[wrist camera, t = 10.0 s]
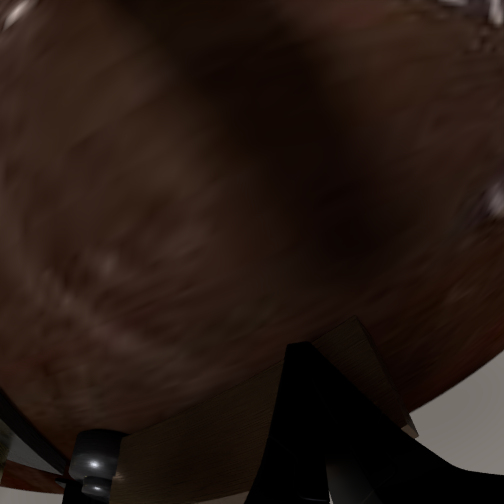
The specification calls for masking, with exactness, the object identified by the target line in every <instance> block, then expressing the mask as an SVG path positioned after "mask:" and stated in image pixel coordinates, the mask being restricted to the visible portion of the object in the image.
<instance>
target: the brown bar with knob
mask: <svg viewBox="0 0 504 504" xmlns="http://www.w3.org/2000/svg"><path fill="white" fill-rule="evenodd" d="M311 344H312V345H313V346H314V347H315V348H316V349H317V350H318V351H319V352H320V353H321V354H322V355H323V356H324V357H326V358H327V359H328V360H329V361H330V362H331V363H332V364H333V365H334V366H335V367H336V368H337V369H338V370H339V371H340V372H341V373H342V374H343V375H344V376H345V377H346V378H347V379H348V380H349V381H350V382H351V383H353V384H354V385H355V386H356V387H357V388H358V389H359V390H360V391H361V392H362V393H363V394H364V395H365V396H366V397H367V398H368V399H369V400H370V401H371V402H372V403H374V404H375V405H376V406H377V407H378V408H379V409H380V410H381V411H382V414H383V413H384V414H385V415H386V416H387V417H389V418H390V419H391V420H392V421H393V422H394V423H395V424H396V425H397V426H399V427H400V428H401V429H402V430H403V431H404V432H406V433H407V434H408V435H410V436H411V437H412V438H414V439H415V438H417V437H418V436H419V435H418V433H417V430H416V428H415V426H414V424H413V421H412V419H411V417H410V415H409V413H408V411H407V408H406V406H405V404H404V402H403V400H402V398H401V396H400V394H399V392H398V390H397V387H396V385H395V383H394V381H393V379H392V377H391V375H390V373H389V371H388V369H387V367H386V365H385V363H384V361H383V359H382V357H381V355H380V353H379V351H378V349H377V347H376V345H375V344H374V342H373V340H372V338H371V336H370V335H369V333H368V332H367V331H366V329H365V328H364V327H363V325H362V324H361V323H360V321H359V320H358V319H357V317H356V316H355V315H354V316H353V317H351V318H350V319H348V320H347V321H345V322H344V323H342V324H341V325H339V326H338V327H336V328H334V329H333V330H331V331H330V332H328V333H327V334H325V335H323V336H322V337H320V338H319V339H317V340H315V341H314V342H312V343H311ZM283 363H284V360H282V361H280V362H279V363H277V364H275V365H273V366H272V367H270V368H268V369H266V370H265V371H263V372H261V373H259V374H257V375H256V376H254V377H252V378H250V379H248V380H246V381H244V382H243V383H241V384H239V385H237V386H235V387H233V388H231V389H229V390H227V391H225V392H223V393H221V394H219V395H217V396H215V397H213V398H211V399H209V400H207V401H205V402H203V403H201V404H199V405H197V406H195V407H193V408H191V409H189V410H186V411H184V412H182V413H180V414H178V415H175V416H173V417H171V418H169V419H167V420H164V421H162V422H160V423H157V424H155V425H153V426H150V427H148V428H146V429H143V430H141V431H138V432H136V433H133V434H131V435H128V436H126V437H121V436H118V435H115V434H111V433H107V432H102V431H92V430H89V431H82V432H80V433H79V434H78V435H77V438H76V442H75V446H74V450H73V455H72V459H71V463H70V468H69V475H70V476H71V477H72V478H73V479H75V480H76V481H78V482H79V483H81V484H83V486H82V493H83V494H85V495H86V496H88V497H90V498H92V499H95V500H97V501H100V502H104V503H107V504H244V502H245V500H246V498H247V495H248V493H249V491H250V489H251V486H252V484H253V482H254V479H255V477H256V474H257V472H258V469H259V467H260V464H261V460H262V457H263V453H264V450H265V445H266V441H267V438H268V433H269V429H270V424H271V420H272V415H273V411H274V406H275V401H276V397H277V392H278V387H279V382H280V378H281V373H282V368H283Z"/></svg>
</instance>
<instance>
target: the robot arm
mask: <svg viewBox="0 0 504 504" xmlns="http://www.w3.org/2000/svg"><path fill="white" fill-rule="evenodd" d="M55 482H56V483H58V484H59V485H60V486H62V487H63V488H65V490H64V495H63V501H62V504H107V503H104V502H100V501H97V500H95V499H92V498H90V497H88V496H86V495H85V494H83V493H82V486H83V484H80V483H75V482H71V481H66V480H62V479H58V478H56V480H55ZM329 492H330V495H331V498H332V501H333V504H504V475H497V474H488V473H480V472H474V471H468V470H464V469H461V468H458V467H456V466H453V465H452V464H450V463H448V462H447V461H445V460H444V459H442V458H440V457H439V456H438V455H436V454H435V453H433V452H432V451H431V450H429V449H428V448H426V447H425V446H423V445H422V444H420V443H419V442H418V441H416V440H415V439H414V438H412V437H411V436H410V435H408V434H407V433H406V432H404V431H403V430H402V429H401V428H400V427H399V426H397V425H396V424H395V423H394V422H393V421H392V420H391V419H390V418H389V417H387V416H386V415H385V414H384V413H383V414H382V411H381V410H380V409H379V408H378V407H377V406H376V405H375V404H374V403H372V402H371V401H370V400H369V399H368V398H367V397H366V396H365V395H364V394H363V393H362V392H361V391H360V390H359V389H358V388H357V387H356V386H355V385H354V384H353V383H351V382H350V381H349V380H348V379H347V378H346V377H345V376H344V375H343V374H342V373H341V372H340V371H339V370H338V369H337V368H336V367H335V366H334V365H333V364H332V363H331V362H330V361H329V360H328V359H327V358H326V357H324V356H323V355H322V354H321V353H320V352H319V351H318V350H317V349H316V348H315V347H314V346H313V345H312V344H311V343H310V342H308V341H305V342H299V343H292V344H288V345H287V347H286V352H285V357H284V363H283V368H282V373H281V378H280V382H279V387H278V392H277V397H276V401H275V406H274V411H273V415H272V420H271V424H270V429H269V433H268V438H267V441H266V445H265V450H264V453H263V457H262V460H261V464H260V467H259V469H258V472H257V474H256V477H255V479H254V482H253V484H252V486H251V489H250V491H249V493H248V495H247V498H246V500H245V502H244V504H330V503H329V502H330V498H329Z"/></svg>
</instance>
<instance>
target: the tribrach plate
mask: <svg viewBox="0 0 504 504" xmlns="http://www.w3.org/2000/svg"><path fill="white" fill-rule="evenodd" d="M7 459H8V460H11V461H14V462H17V463H20V464H23V465H26V466H30V467H33V468H37V469H40V470H44V471H47V472H51V473H55V474H59V475H63V474H64V470H65V465H66V461H65V460H64V459H63V458H62V457H61V456H60V455H59V454H58V453H56V452H55V451H54V450H53V449H52V448H51V447H50V446H49V445H48V444H47V443H46V442H45V441H44V440H43V439H42V438H41V437H40V436H38V435H37V434H36V433H35V432H34V430H33V429H32V428H31V427H30V426H29V425H28V424H27V423H26V422H25V421H24V420H23V419H22V418H21V417H20V416H19V415H18V414H17V412H16V411H15V410H14V409H13V408H12V407H11V406H10V404H9V403H8V402H7V401H6V400H5V399H4V397H3V396H2V395H1V394H0V481H1V478H2V474H3V471H4V467H5V464H6V460H7Z"/></svg>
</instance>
